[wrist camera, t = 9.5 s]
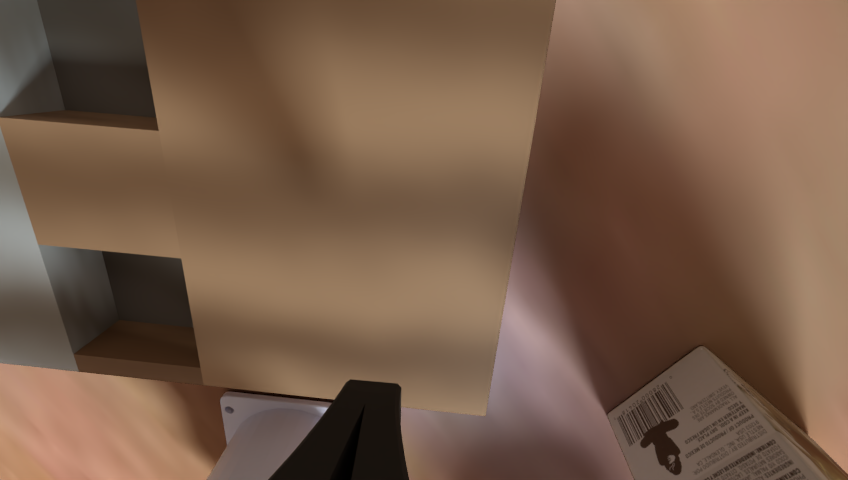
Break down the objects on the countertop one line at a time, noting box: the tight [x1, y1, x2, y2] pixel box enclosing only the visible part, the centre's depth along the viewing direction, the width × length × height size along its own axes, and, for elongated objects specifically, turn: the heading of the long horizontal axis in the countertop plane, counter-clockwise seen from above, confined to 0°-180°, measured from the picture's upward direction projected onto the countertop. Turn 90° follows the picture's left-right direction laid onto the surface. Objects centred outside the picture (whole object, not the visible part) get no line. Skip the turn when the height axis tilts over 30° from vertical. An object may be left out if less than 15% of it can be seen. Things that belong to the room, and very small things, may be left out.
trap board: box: [0, 0, 556, 416], centre depth 17 cm, size 18×30×3 cm, turn 86°
